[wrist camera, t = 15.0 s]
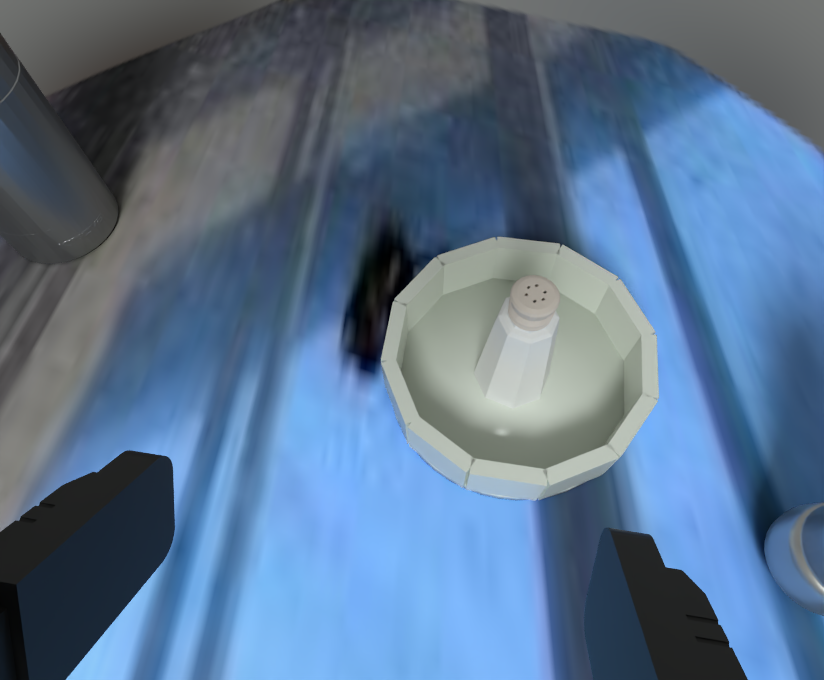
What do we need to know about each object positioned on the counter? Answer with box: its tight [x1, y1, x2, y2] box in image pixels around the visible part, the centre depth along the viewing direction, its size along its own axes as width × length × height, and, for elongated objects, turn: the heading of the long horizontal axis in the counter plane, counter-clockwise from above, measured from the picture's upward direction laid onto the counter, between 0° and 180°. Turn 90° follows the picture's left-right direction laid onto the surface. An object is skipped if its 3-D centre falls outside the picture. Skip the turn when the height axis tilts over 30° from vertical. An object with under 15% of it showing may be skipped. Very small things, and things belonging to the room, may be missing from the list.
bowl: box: [381, 237, 659, 501], centre depth 41 cm, size 18×18×5 cm
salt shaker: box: [474, 275, 560, 409], centre depth 37 cm, size 5×5×11 cm
